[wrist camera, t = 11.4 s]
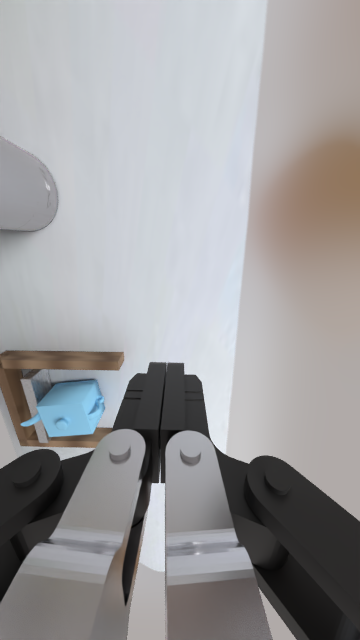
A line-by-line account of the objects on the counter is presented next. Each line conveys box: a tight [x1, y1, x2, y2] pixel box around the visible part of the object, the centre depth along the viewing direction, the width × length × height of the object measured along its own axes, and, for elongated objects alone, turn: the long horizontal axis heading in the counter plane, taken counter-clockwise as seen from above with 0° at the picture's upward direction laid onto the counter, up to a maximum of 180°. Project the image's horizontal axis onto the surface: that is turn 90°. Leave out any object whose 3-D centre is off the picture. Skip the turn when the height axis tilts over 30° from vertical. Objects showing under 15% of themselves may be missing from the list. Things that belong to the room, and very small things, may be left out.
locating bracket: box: [0, 351, 124, 448], centre depth 37 cm, size 20×18×3 cm
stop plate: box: [21, 369, 52, 443], centre depth 36 cm, size 2×13×4 cm, turn 0°
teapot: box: [20, 380, 105, 437], centre depth 35 cm, size 12×6×8 cm, turn 96°
